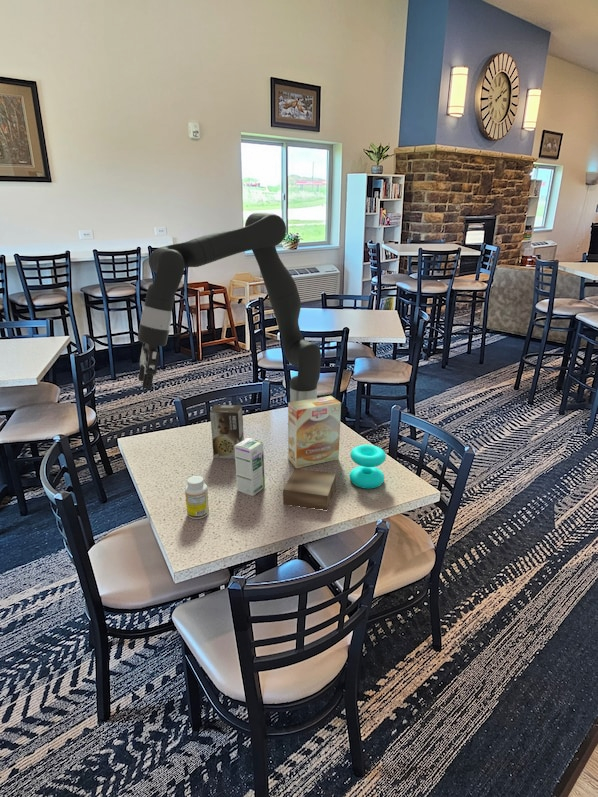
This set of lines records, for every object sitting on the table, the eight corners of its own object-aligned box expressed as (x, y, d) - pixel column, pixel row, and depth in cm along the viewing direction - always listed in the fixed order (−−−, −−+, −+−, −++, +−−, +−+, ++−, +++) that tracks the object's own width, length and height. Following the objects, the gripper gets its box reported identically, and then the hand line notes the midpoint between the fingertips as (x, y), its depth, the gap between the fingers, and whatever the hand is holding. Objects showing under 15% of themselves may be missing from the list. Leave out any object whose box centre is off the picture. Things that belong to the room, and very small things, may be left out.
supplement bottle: (194, 506, 132) (192, 472, 128) (213, 510, 130) (210, 476, 126) (182, 517, 127) (179, 482, 123) (201, 522, 125) (198, 487, 121)
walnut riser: (294, 483, 144) (294, 468, 142) (335, 488, 141) (336, 473, 139) (283, 505, 133) (283, 489, 131) (327, 512, 130) (327, 496, 128)
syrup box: (253, 496, 136) (251, 449, 131) (236, 490, 139) (234, 444, 134) (265, 487, 141) (264, 441, 135) (248, 481, 144) (247, 436, 138)
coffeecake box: (296, 469, 151) (296, 409, 144) (287, 458, 157) (287, 401, 150) (339, 459, 156) (341, 402, 149) (329, 450, 162) (331, 394, 155)
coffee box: (245, 450, 162) (243, 404, 156) (240, 459, 156) (238, 412, 150) (217, 449, 163) (214, 403, 157) (212, 458, 157) (209, 411, 151)
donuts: (344, 452, 139) (360, 439, 147) (343, 483, 143) (359, 469, 151) (376, 462, 134) (392, 448, 142) (374, 494, 138) (389, 479, 145)
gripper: (174, 332, 126) (162, 393, 129) (164, 324, 138) (154, 380, 141) (144, 326, 122) (132, 389, 125) (137, 319, 135) (127, 376, 138)
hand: (144, 384), depth 133 cm, fingers open, 8 cm apart
